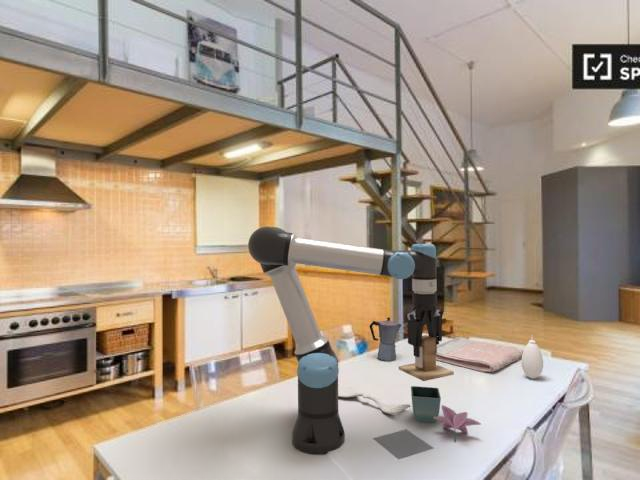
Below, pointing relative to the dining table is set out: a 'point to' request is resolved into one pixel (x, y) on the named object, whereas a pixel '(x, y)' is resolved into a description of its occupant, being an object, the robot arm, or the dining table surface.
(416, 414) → the flower pot
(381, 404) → the white spork
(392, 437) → the plate
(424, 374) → the lid
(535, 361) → the white tall oval piece
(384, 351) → the moka pot
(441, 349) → the towel
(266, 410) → the dining table surface
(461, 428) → the lily
